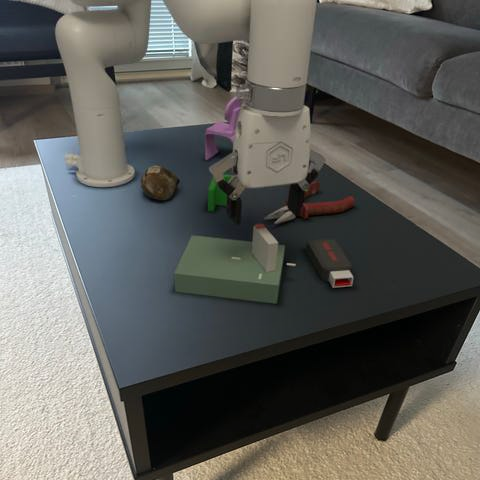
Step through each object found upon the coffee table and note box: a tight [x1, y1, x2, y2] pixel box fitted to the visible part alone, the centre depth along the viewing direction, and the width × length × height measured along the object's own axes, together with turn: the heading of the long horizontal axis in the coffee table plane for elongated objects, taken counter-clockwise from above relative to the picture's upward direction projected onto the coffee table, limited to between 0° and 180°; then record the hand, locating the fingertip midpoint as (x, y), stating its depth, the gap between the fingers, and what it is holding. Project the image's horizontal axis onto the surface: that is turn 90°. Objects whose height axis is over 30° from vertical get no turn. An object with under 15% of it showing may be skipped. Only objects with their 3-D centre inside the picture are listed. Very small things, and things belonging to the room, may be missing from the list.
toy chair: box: [204, 95, 243, 161], centre depth 118 cm, size 8×9×15 cm
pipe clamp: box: [207, 173, 233, 212], centre depth 103 cm, size 11×4×5 cm, turn 173°
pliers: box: [263, 181, 356, 225], centre depth 101 cm, size 12×20×3 cm, turn 133°
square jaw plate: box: [252, 223, 279, 272], centre depth 78 cm, size 6×2×5 cm, turn 21°
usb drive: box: [305, 238, 355, 289], centre depth 84 cm, size 5×12×3 cm, turn 10°
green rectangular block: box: [173, 234, 297, 305], centre depth 81 cm, size 18×12×4 cm, turn 81°
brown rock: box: [140, 165, 181, 201], centre depth 104 cm, size 8×7×10 cm
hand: (264, 216), depth 75 cm, fingers open, 9 cm apart
